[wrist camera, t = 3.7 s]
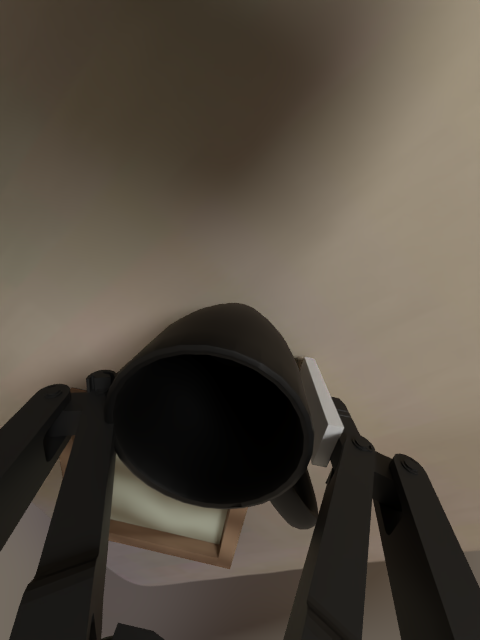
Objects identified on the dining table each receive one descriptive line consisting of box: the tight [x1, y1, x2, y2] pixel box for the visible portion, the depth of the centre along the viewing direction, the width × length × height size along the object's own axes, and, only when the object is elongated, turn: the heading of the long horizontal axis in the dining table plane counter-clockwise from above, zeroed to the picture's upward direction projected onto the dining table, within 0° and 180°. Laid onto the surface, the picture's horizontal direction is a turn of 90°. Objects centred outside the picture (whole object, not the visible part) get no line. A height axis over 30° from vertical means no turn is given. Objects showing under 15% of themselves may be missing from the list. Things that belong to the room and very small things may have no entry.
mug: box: [104, 303, 318, 529], centre depth 14 cm, size 8×12×10 cm
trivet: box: [59, 388, 248, 569], centre depth 23 cm, size 18×18×2 cm
